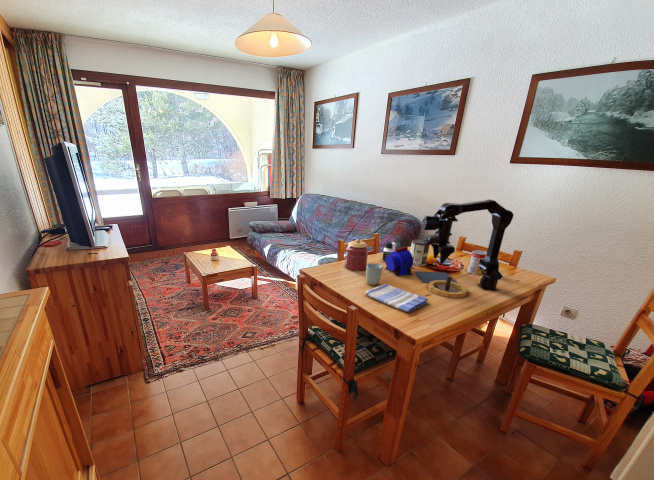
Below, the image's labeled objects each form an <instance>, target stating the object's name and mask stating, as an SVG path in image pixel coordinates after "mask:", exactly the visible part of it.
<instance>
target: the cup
mask: <svg viewBox="0 0 654 480" xmlns="http://www.w3.org/2000/svg"><path fill="white" fill-rule="evenodd" d="M382 271H383V266H382V265H381V264H380V263H367V267H366V269H365V282H366V284H368V285H369V286H378V285H379V283H380V281H381V279H382Z"/></svg>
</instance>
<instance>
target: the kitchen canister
mask: <svg viewBox="0 0 654 480" xmlns="http://www.w3.org/2000/svg"><path fill="white" fill-rule="evenodd" d="M368 246H369V245H368V243H366V242H365V241H363V240H361V239H360V238H356V240H352V241H350V242H348V243H347V246H346V247H345V249H346V252H345V260H344V267H345V268H346V269H348V270H351V271H359V272H360V271H364V270H366V267H367V264H368V258H369V257H368V256H369V253H368V251H369V247H368Z"/></svg>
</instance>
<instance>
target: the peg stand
mask: <svg viewBox="0 0 654 480" xmlns="http://www.w3.org/2000/svg"><path fill="white" fill-rule="evenodd" d="M452 278H453V276H452V275H450V276H448V277H447V281H446V285H436V286H435V288H437V289H439V290H442V291H447V292H459V290H458V289H456V288H454V287H453V286H452V285H450V284H451V280H452Z"/></svg>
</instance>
